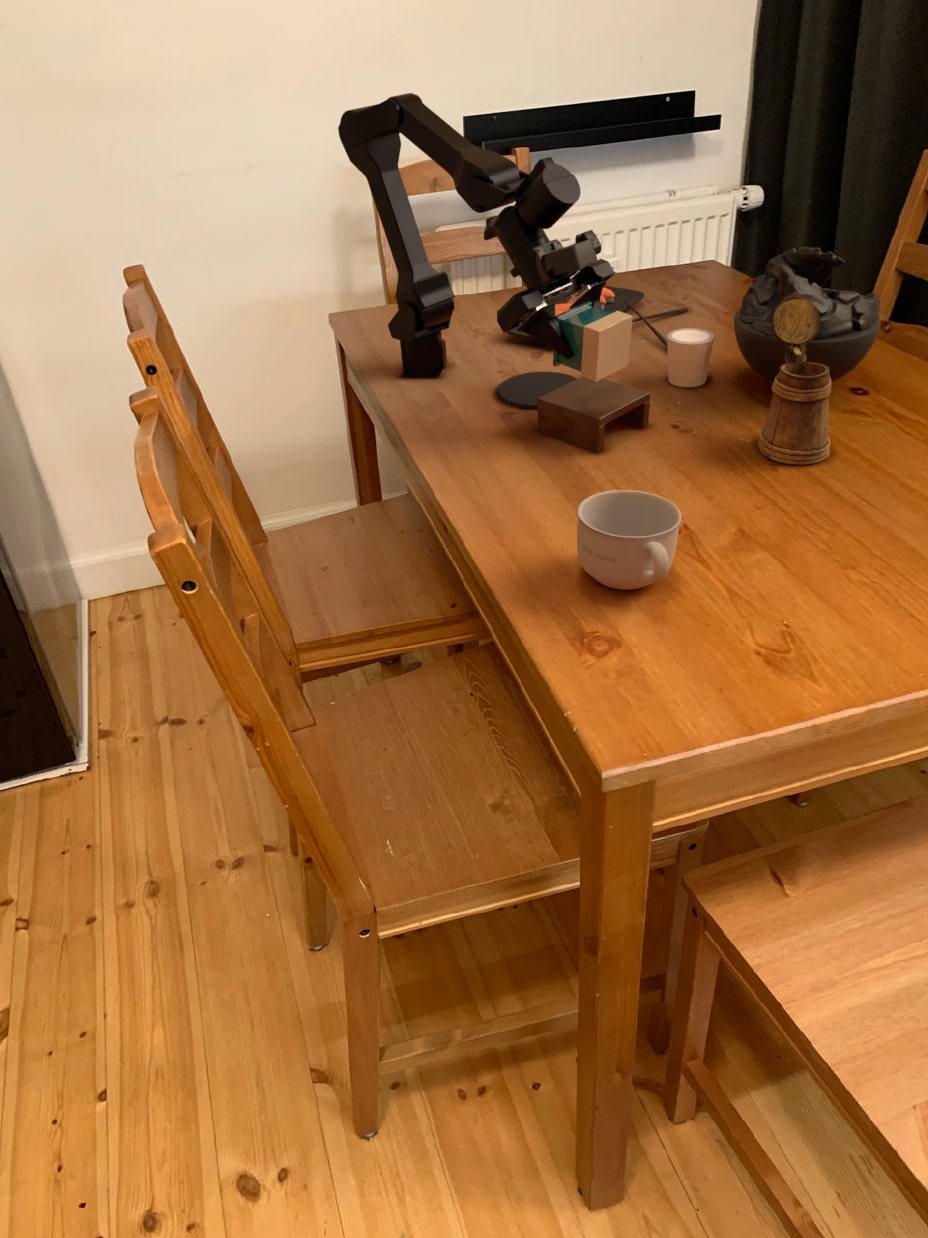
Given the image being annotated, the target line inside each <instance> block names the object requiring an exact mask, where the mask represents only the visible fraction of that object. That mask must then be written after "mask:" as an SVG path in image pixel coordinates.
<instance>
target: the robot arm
mask: <svg viewBox="0 0 928 1238" xmlns="http://www.w3.org/2000/svg"><path fill="white" fill-rule="evenodd" d="M339 121H340V122H339V125H338V127H337V130H338V137H339V138H340V142H341V145H342V147H343V149H344V151H345V153H346V155H347V158H348V160H349V162H350V163H351V164H352V165H353V166H354V167H355V168H356V169H357V170H358V171H359V172H360V173H361V174H362V175H363V176H364V177H365V178H366V181H367V184H368V187H369V189H370V193H371V195H372V198H373V202H374V204H375V208H376V211H377V213H378V217H379V219H380V223H381V226H382V229H383V231H384V234H385V237H386V241H387V244H388V247H389V249H390V252H391V253H390V254H391V256H392V259H393V261H394V264H395V267H396V271H397V273H398V274H397V275H398V276H397V284H396V290H395V300H396V305H397V309H398V310H397V311H396V313H395V314H394V315H393V317H392V318H391V319H390V321H389V322H388V324H387V328H388V331H389V334H390V336H391V338H392V339H395V340H398V341H399V345H400V355H401V366H402V370H401V371H400V374H399V375H400V378H401V377H402V378H439V377H441V376H442V375H441V374H442V373H443V371H444V370H445V368H446V366H447V364H448V356H447V355H448V354H447V344H446V342H447V341H446V339H445V338H443V335H442V334H443V333H442V331H444V330H448V329H450V325H451V320H452V316H453V312H454V311H455V301H454V298H455V297H456V295H455V293H454V292H453V290H452V287H451V284H450V280H449V275H448V274H447V272H446V271H440V272H439V271H438V270H436V269H435V268H434V267H433V266H432V264H430V261H429V259H428V255H427V252H426V250H425V245H424V243H423V240H422V236H421V234H420V230H419V228H418V225H417V224H418V223H417V222H416V219H415V215H414V212H413V209H412V206H411V203H410V200H409V197H408V193H407V191H406V188H405V184H404V181H403V178H402V175H401V172H400V169H399V161H400V155H401V148H402V141H401V136H400V134H401V135H402V136H404V137H405V138H406V139H407V140H408V141H409V142H410V143H412V144H413V145H414V146H415V147H417V148H418V149H419V150H420V151H421V152H423V153H424V155H426V156H427V157H428V158H430V159H431V160H432V161H433V162H434V163H435V164H437V165H438V166H439V167H440V168H441V169H442V170H444V171H445V172H446V173H447V174H448V175H449V176H450V178H452V180H453V185H454V188H455V191H456V193H457V194H458V196H460V197H461V199H462V200H463V201H464V202H465V204H467V207H469V208H470V210H472V211H474V212H475V213H478V214H482V213H486V212H490V211H492V210H496V209H499V208H501V207H502V208H503V207H504V208H503V209H502V210H501V211H500V212H499V213H498V214H497V215H493V216H490V217H487V218H485V228H484V231H483V240H484V241H489V240H492V239H495V238H497V239H498V241H499V243H500V244H501V246H502V248H503V249H504V251H505V253H506V254H507V257H508V258H509V260H510V261H511V264H512V266H513V268H512V269H511V270H510V271H509V273H510V274H511V276H512V278H513V279H514V278H517V277H519V278H520V279H521V280H522V282H523V284H524V285H525V287H526V289H524V290H522V291H520V292H517V293H515V294H513V295H512V296H511V297H510V298H509V299H508V300H507V301H506V302H505V303H504V304H503V305H502V306H500V308H499V309H498V310H497V311H496V322H497V325H498V326H499V328H500V330H501V331H502V333H504V334H506V332H507V331H510V330H512V329H514V328H516V327H518V326H519V324H520V321H521V323H522V325H521V326H520V327H519V328H518V329H517V331H518V332H519V333H521V332H524V333H526V334H528V335H530V336H532V337H533V338H535V339H537V340H539V341H540V342H539V341H538V342H539V343H542V344H544V345H545V346H547V347H549V348H550V349H551V350H554V351H556V352H557V353H559V354H560V355H562V356H563V357H565V358H566V359H570V358H572V357H573V356H574V354H573V352H572V349H571V347H570V345H569V343H568V341H567V339H566V337H565V335H564V333H563V331H562V330H561V328H560V326H559V324H558V322H557V320H556V317H555V302H556V301H558V300H561V299H563V298H565V297H568V296H570V298H572V300H573V301H574V303H573V304H572V305H571V306H570V307H569V308H570V309H572V308H574V307H576V306H579V305H581V304H583V303H585V302H588V301H589V302H592V304H591V307H594V308H597V309H600V310H601V302H600V297H601V293H602V289H603V287H605V286H607V281H609V280H610V279H611V278H612V277H613V276H614V275H615V274H616V272H615V270H614V268H613V267H612V266H611V265H612V264H610V261H609V260H606V259H602V258H600V259H598V257H597V255H600V254H601V252H602V244H601V242H600V239H599V237H598V236H597V235H596V233H595V232H594V231H593V229H589V230H587V231H584V232H581V233H578V234H576V236H575V240H574V241H575V243H572V244H569V245H567V246H563V245H562V242H561V241H560V240H558V239H557V238H555V239H553V240H550V239H549V237H548V235H547V233H546V231H545V230H548V229H551V228H552V227H553V226H554V225H555V224H557V222H558V221H559V220H560V219H561V218H562V217H563V216H564V215H565V214H566V213H567V212H568V211H569V210H570V209H571V208H572V207H573V206H574V205H575V204H576V203H577V202H578V201H579V199H580V197H581V187H580V183H579V181H578V178H577V177H576V175H575V174H573V173H571V171H569V170H568V169H567V168H566V167H564V166H563V165H560V164H557V163H555V161H554V159H553V157H552V156H547V157H543V158H540V159H539V160H538V161H537V162H536V164H534V166H533V168H532V170H531V171H530V173H528V172H526V171H523V170H522V169H519V167H518V165H517V164H516V163H515V162H514V161H513V160H511V159H509V158H507V157H505V156H504V155H502V154H500V153H498V152H496V151H493V150H489V149H485V148H481V147H478V146H477V145H474V144H473V143H471V142H470V141H469V140H468V139H467V138H465V137H464V136H463V135H462V134H461V133H460V132H458V131H457V130H456V129H455V128H453V127H452V126H451V125H450V124H449V123H448V122H446V121H445V120H444V119H443V118H441V117H440V115H438V114H437V113H435V112H434V111H433V110H431V108H429V107H428V106H427V105H426V104H425V103H424V102H423V99H422V98H421V97H420V96H419V94H418V95H417V94H416V93H412V92H408V93H403V94H398V95H393V96H389V97H388V98H387V99H386V100H384V101H382V102H380V103H376V104H372V105H366V106H362V107H358V108H354V109H348V110H346V111H344V112H343V113H342V114H341V117H340V120H339ZM511 204H513V205H511Z"/></svg>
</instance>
